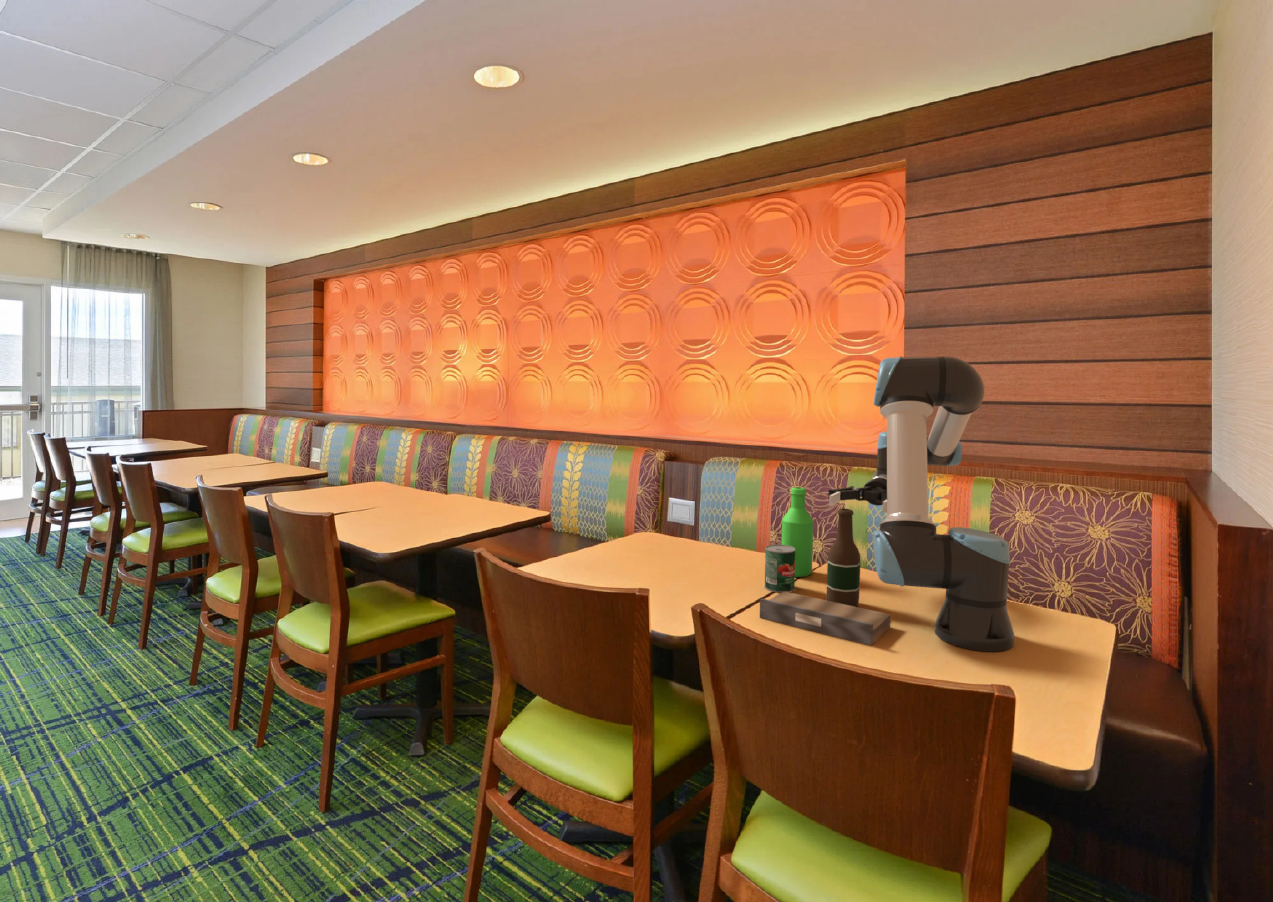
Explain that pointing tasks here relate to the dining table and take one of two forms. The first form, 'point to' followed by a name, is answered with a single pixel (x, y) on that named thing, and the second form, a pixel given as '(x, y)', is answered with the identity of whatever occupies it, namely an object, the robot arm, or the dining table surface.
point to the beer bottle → (844, 564)
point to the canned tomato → (780, 568)
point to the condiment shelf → (826, 617)
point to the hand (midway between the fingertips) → (856, 504)
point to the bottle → (799, 532)
